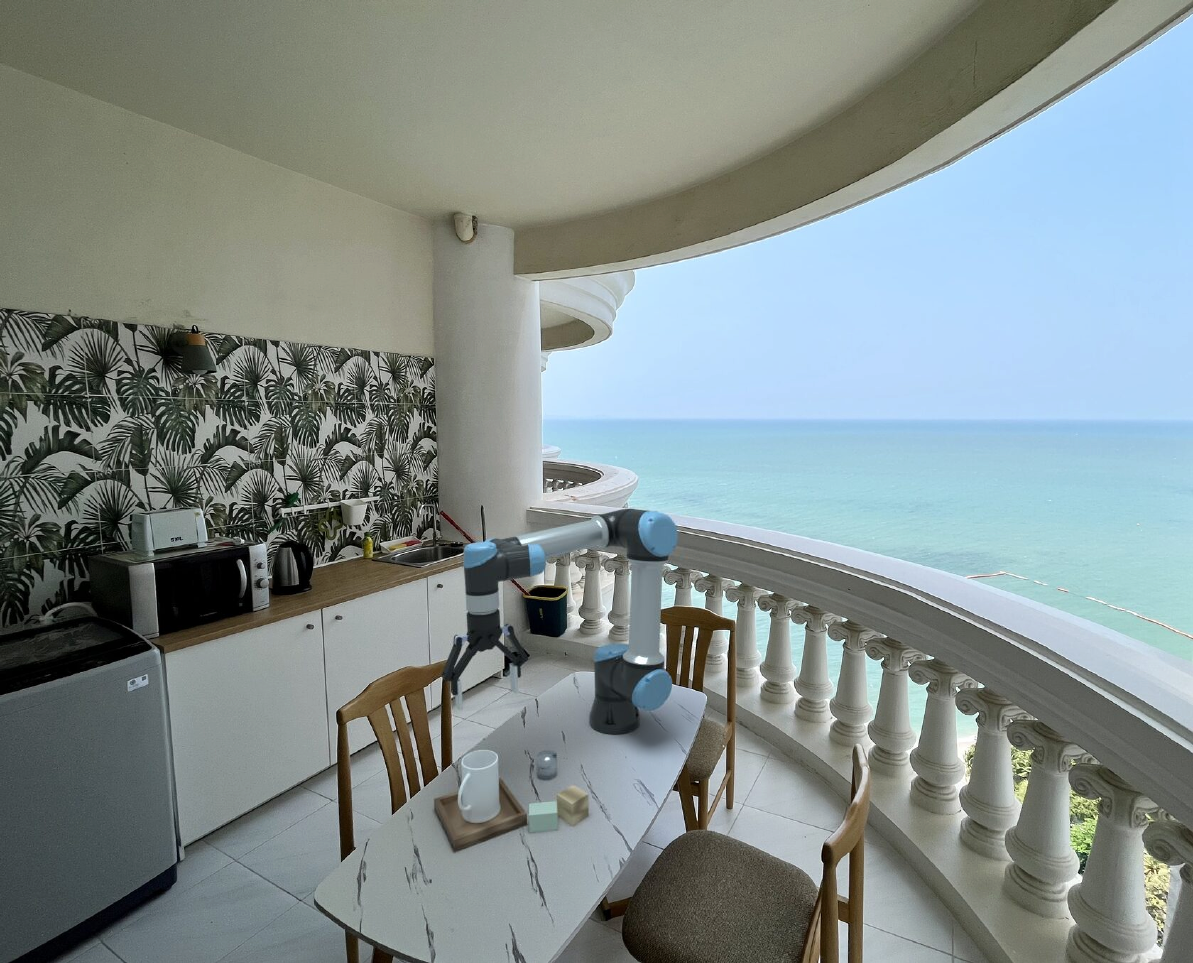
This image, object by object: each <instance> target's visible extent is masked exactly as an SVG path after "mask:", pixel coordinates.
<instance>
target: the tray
mask: <svg viewBox="0 0 1193 963" xmlns="http://www.w3.org/2000/svg"><path fill="white" fill-rule="evenodd" d="M458 793H459V790H458V791H457V790H456V791H455V792H452V793H448V794H446V795H442V796H439V797H436V798H434V799H433V806H434V809H433V810H434V812H435V814H436V816H437V818H438V820H439V823H440V824H441V826H442V829H443V830H444V831H443V832H444V834H445V836H446V837H447V839H448V842H449V843H450V846H451V848H452V850H453V853H456V852H459V851H461V850H464V849H466V848H470V847H473V846H475V845H479V844H480V843H483V842H486V841H488V840H490V839H494V838H495V837H498V836H501V835H504V834H506V833H509V832H511V831H514V830H516V829H519V828H522V827H524V826H527V825H528V814H527V811H525V809H524V808H523V806H522V804H521V803H520V802H519V800H517V798H516V796H515V795H514V794H513V793H512V791H511V790H510V788H509V787H508V785H507V784H506V783H505V781H504V780H503V778H502V777H499V803H500V812H499V814H498V815H497V816H496V817H495V818H493V819H492V820H490V821H487V822H484V823H470V822H468V821H466V820H464V818H463V817H462V810H461V809H460V808H459V805H458ZM461 803H462V796H461Z"/></svg>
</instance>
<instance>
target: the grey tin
mask: <svg viewBox="0 0 1193 963" xmlns="http://www.w3.org/2000/svg"><path fill="white" fill-rule="evenodd" d="M536 773H537V774H536V776H537V779H540V780H541V781H551V780H554V779H555V778H556V777H557V776H558V754H557V752H556V751H554V750H551V749H544V750H541V751H540V752H538V753H537V755H536Z"/></svg>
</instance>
